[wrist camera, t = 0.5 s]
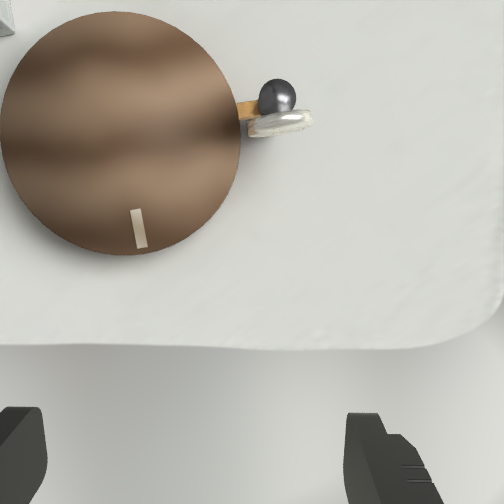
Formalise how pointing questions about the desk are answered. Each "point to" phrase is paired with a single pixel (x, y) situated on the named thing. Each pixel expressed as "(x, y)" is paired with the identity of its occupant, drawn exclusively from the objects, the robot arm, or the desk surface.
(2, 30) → the skincare box
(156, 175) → the turntable
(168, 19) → the desk surface
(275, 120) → the post with glass disc
